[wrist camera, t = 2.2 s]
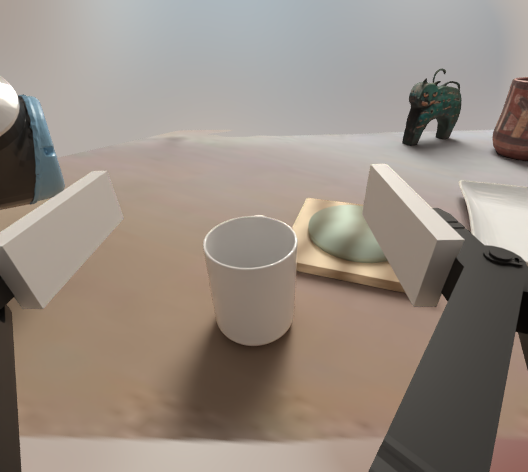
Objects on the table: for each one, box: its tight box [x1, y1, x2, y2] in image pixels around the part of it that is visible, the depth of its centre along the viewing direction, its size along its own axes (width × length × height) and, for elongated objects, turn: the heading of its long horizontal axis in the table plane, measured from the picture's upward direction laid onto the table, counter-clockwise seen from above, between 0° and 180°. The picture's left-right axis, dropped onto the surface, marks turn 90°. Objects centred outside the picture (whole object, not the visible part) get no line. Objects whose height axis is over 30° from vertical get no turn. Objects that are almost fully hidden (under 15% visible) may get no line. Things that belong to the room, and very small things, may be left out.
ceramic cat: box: [402, 69, 461, 146], centre depth 85 cm, size 20×6×20 cm, turn 114°
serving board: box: [292, 198, 406, 293], centre depth 45 cm, size 20×20×2 cm
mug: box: [203, 215, 298, 346], centre depth 31 cm, size 12×9×11 cm
